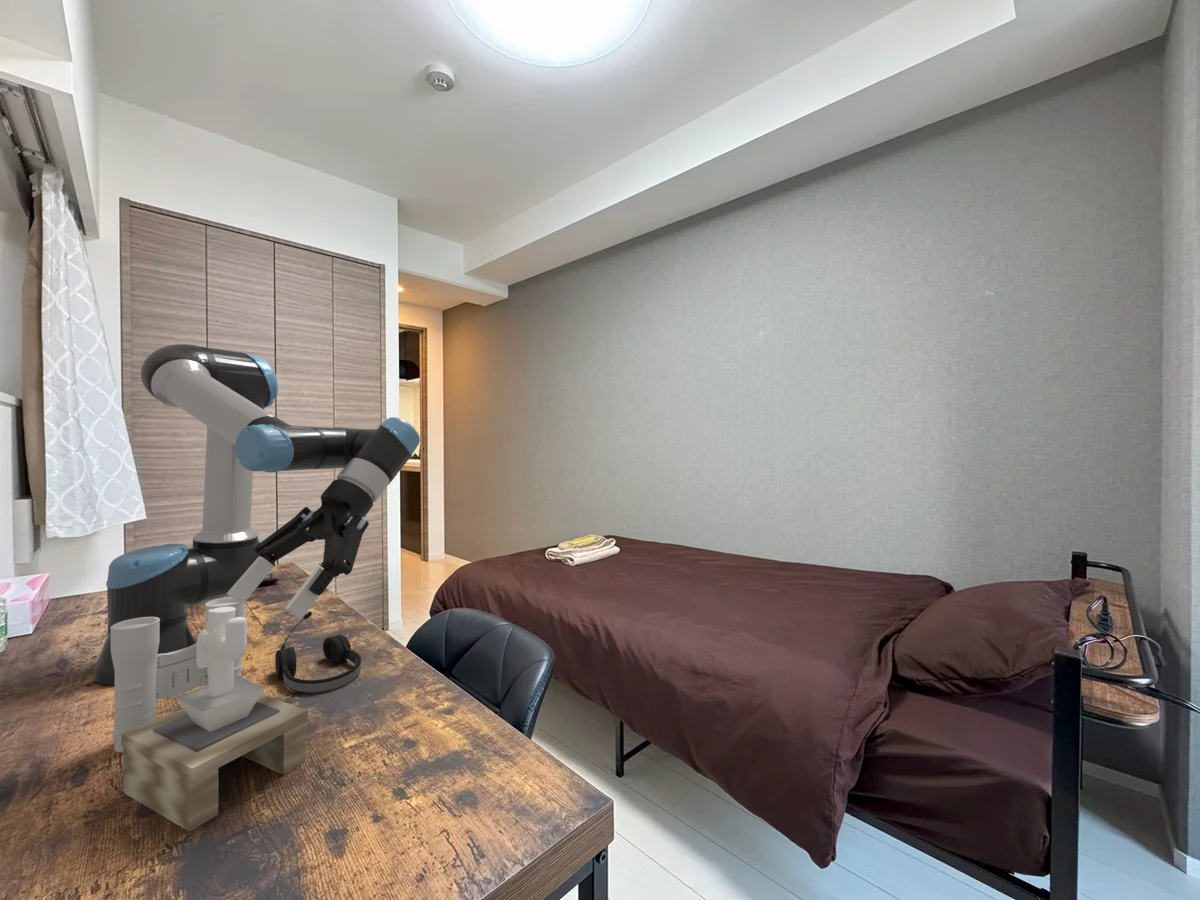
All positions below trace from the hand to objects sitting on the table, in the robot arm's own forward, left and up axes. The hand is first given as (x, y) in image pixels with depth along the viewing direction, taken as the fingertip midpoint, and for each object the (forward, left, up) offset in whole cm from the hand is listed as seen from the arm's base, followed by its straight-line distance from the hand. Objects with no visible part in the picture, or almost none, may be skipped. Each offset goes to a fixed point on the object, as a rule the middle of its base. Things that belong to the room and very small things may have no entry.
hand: (262, 606), depth 71 cm
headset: (-17, +21, -22) cm, 35 cm away
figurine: (0, -5, -14) cm, 15 cm away
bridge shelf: (-1, -5, -22) cm, 22 cm away
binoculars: (-20, 0, -22) cm, 30 cm away
